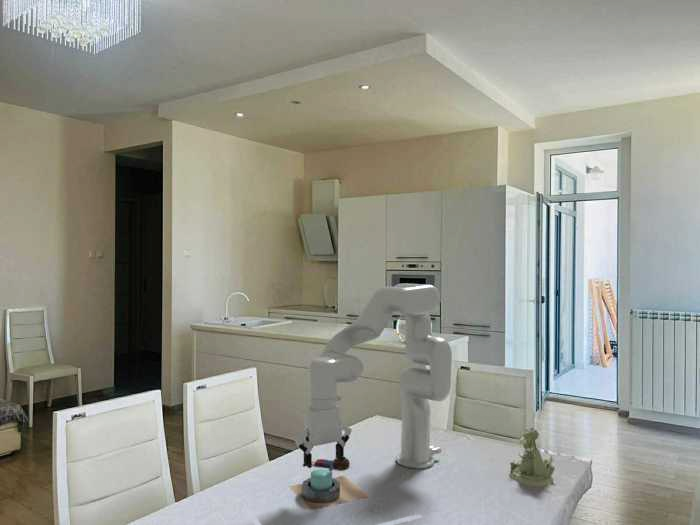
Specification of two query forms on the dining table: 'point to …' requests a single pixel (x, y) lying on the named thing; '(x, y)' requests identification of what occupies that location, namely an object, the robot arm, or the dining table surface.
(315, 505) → the board
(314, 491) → the faceted gray ring
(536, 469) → the figurine
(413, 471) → the dining table surface
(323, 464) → the toy
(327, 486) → the teal rounded tetrahedron
